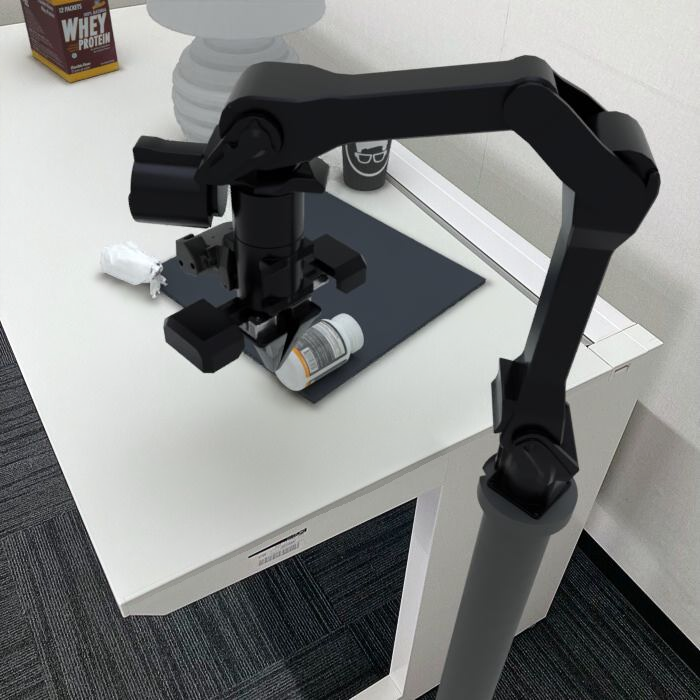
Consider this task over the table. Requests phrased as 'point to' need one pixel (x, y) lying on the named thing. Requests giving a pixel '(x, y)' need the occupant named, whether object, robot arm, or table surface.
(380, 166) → the coffee cup
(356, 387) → the table surface
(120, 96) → the table surface
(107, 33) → the supplement box
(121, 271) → the white pouch
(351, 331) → the pill bottle
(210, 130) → the table lamp
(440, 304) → the mat
